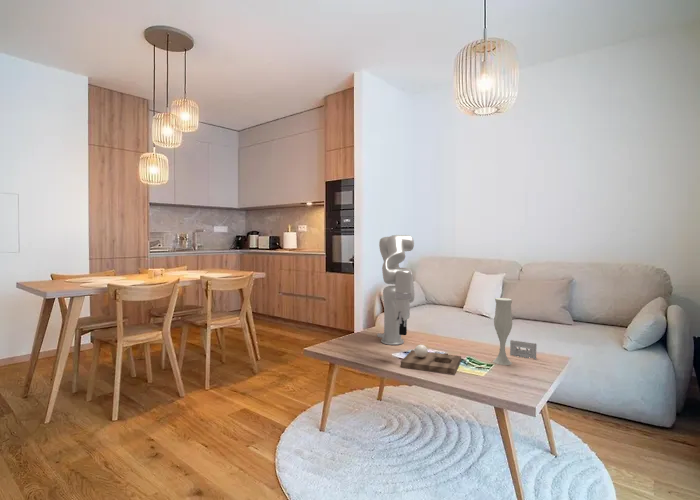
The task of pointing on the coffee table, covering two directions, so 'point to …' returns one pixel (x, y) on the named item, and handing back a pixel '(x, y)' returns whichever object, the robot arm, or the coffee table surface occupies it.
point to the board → (432, 362)
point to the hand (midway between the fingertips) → (402, 334)
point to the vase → (503, 327)
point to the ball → (421, 351)
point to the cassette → (523, 353)
